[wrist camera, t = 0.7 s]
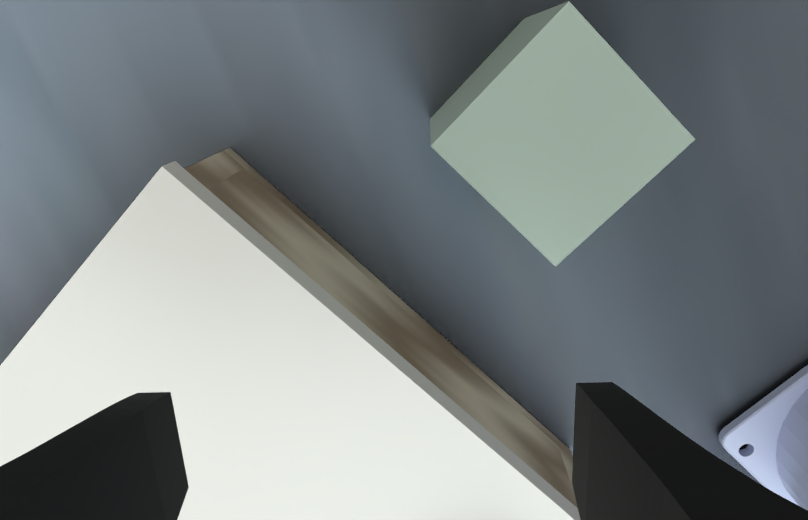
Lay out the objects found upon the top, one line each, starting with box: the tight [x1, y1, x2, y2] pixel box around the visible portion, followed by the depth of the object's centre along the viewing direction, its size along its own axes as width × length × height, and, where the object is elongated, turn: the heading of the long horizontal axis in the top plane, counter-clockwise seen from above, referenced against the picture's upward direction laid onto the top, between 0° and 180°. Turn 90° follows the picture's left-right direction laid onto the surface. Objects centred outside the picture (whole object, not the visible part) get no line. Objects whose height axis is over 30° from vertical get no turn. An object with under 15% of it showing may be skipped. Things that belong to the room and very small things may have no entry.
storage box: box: [184, 148, 578, 508], centre depth 21 cm, size 16×14×4 cm
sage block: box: [430, 1, 695, 267], centre depth 16 cm, size 4×4×6 cm
